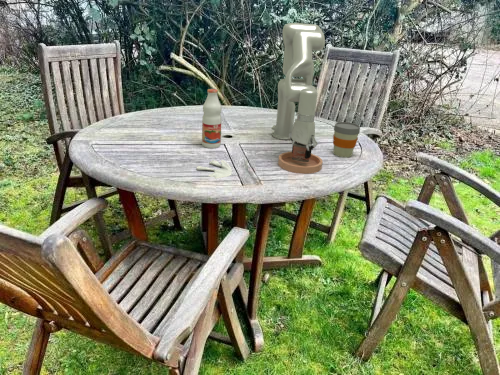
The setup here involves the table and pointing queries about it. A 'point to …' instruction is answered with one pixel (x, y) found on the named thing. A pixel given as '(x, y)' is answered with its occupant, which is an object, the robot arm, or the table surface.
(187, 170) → the table surface
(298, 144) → the lighter
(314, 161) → the round bowl
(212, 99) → the fruit juice
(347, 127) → the reusable coffee cup
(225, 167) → the cream glove
